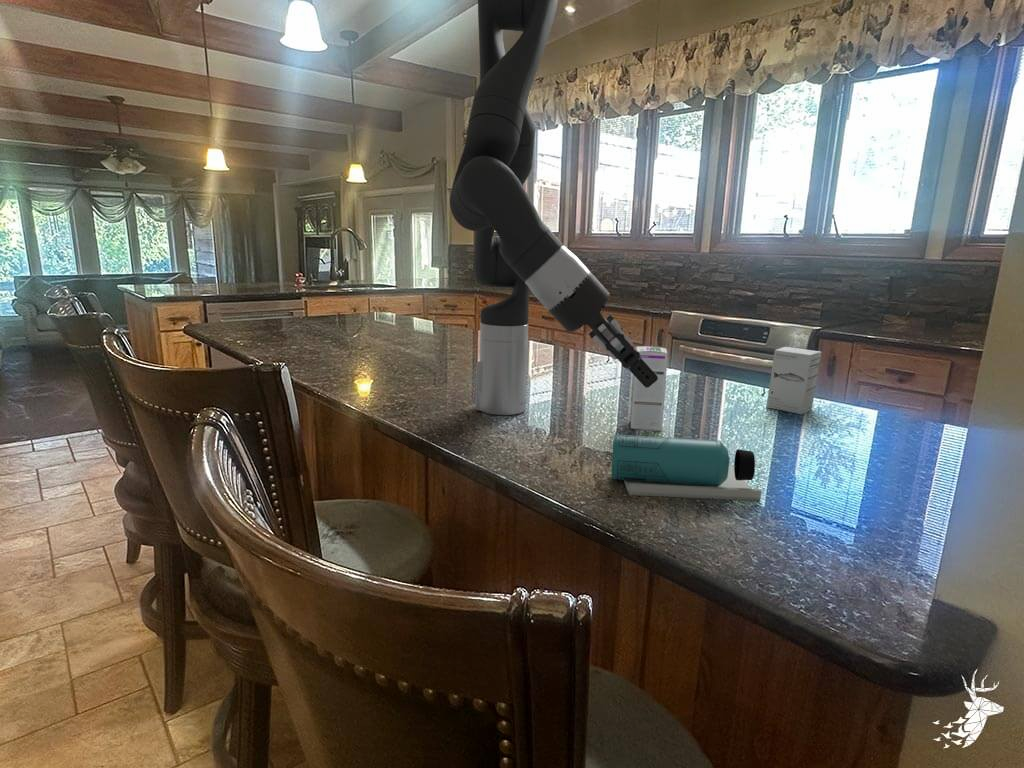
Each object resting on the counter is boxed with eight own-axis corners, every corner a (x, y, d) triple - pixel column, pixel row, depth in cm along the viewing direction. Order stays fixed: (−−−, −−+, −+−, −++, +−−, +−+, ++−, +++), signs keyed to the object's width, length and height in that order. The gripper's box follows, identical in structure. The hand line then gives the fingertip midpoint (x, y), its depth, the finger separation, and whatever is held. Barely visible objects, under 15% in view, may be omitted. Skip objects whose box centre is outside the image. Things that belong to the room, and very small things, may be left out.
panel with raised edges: (629, 495, 75) (630, 485, 75) (615, 459, 88) (616, 451, 87) (760, 500, 74) (761, 490, 74) (727, 464, 87) (728, 455, 87)
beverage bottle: (599, 482, 77) (757, 496, 73) (602, 433, 77) (760, 444, 73) (602, 474, 83) (747, 487, 79) (604, 429, 83) (750, 439, 79)
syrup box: (662, 431, 102) (670, 352, 99) (629, 428, 103) (635, 350, 100) (661, 422, 108) (668, 347, 104) (629, 420, 109) (635, 345, 106)
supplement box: (765, 408, 121) (773, 349, 118) (777, 402, 126) (785, 345, 123) (802, 415, 116) (811, 354, 113) (813, 409, 121) (822, 350, 118)
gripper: (545, 304, 83) (624, 389, 85) (546, 313, 70) (639, 413, 72) (584, 267, 81) (663, 355, 84) (593, 271, 68) (685, 374, 71)
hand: (651, 382), depth 78 cm, fingers closed
